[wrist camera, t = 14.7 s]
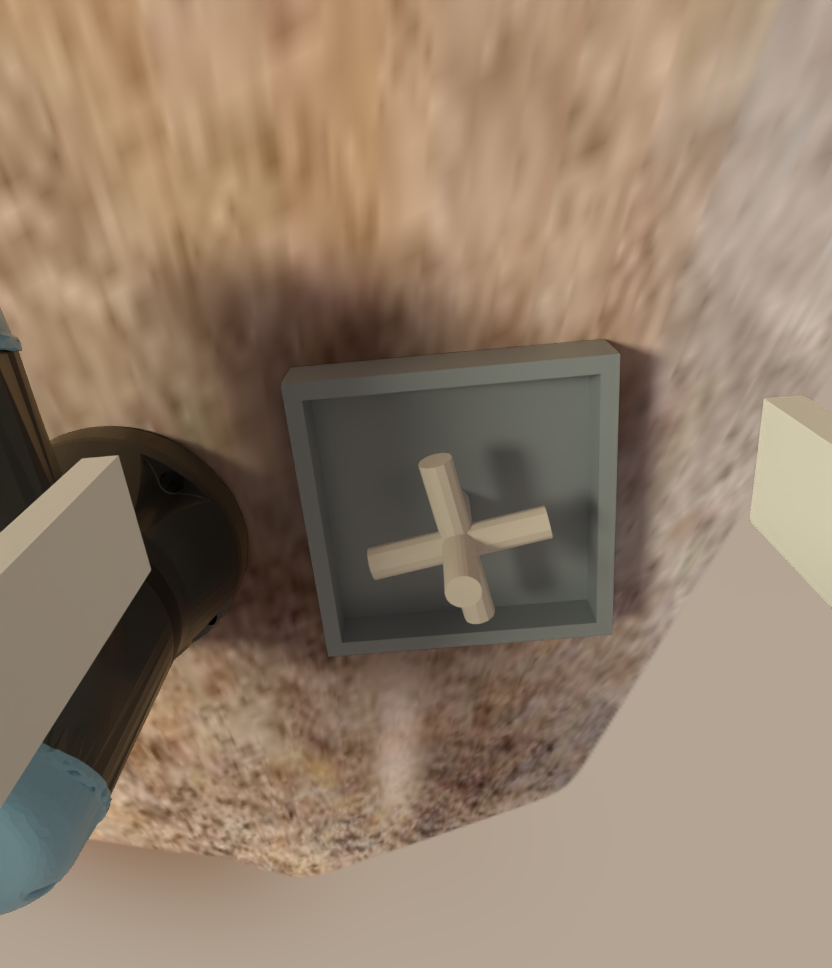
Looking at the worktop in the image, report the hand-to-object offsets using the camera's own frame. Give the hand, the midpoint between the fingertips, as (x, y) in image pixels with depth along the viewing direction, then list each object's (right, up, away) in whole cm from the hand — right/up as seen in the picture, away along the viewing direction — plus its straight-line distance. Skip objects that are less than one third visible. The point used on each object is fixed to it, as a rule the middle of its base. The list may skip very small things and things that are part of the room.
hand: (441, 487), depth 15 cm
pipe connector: (+2, -1, +29) cm, 29 cm away
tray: (+2, -1, +30) cm, 30 cm away
